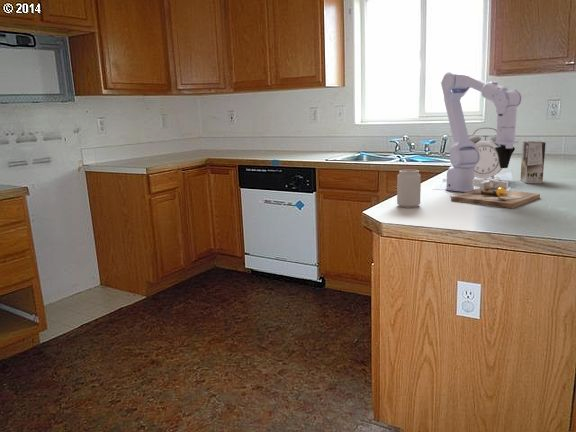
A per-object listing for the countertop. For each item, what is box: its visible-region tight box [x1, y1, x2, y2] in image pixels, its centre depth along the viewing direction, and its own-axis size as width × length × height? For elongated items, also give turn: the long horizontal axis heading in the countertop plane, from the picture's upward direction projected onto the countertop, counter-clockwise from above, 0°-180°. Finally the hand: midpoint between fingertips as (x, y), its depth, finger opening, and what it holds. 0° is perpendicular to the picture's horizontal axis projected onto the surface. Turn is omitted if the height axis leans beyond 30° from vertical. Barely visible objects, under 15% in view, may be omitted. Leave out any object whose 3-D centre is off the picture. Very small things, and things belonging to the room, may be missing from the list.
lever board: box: [450, 187, 541, 209], centre depth 166 cm, size 21×21×2 cm
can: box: [396, 169, 422, 209], centre depth 160 cm, size 8×8×12 cm
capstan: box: [473, 177, 509, 197], centre depth 167 cm, size 15×15×4 cm
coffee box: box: [520, 140, 547, 184], centre depth 195 cm, size 9×6×16 cm
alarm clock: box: [468, 127, 503, 180], centre depth 203 cm, size 16×9×22 cm, turn 61°
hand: (503, 168), depth 166 cm, fingers closed
